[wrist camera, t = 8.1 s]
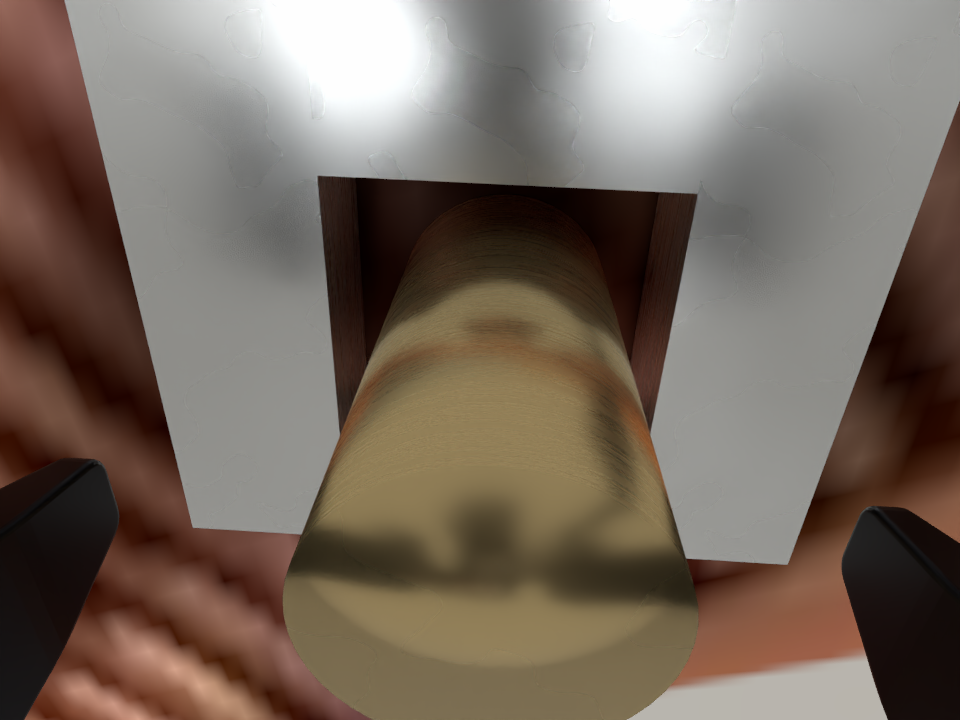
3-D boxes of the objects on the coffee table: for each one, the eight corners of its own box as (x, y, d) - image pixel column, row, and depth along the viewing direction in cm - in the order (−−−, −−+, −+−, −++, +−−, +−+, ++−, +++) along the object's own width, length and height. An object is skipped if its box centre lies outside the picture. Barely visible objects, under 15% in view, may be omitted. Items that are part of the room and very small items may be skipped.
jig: (1188, -956, 6) (1525, -1427, 4) (749, 482, 15) (787, 564, 13) (-22, -959, 7) (-275, -1395, 5) (237, 451, 16) (192, 527, 14)
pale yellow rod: (616, 199, 12) (744, 482, 5) (591, 383, 14) (658, 761, 7) (402, 188, 12) (257, 453, 6) (406, 371, 14) (302, 735, 8)
